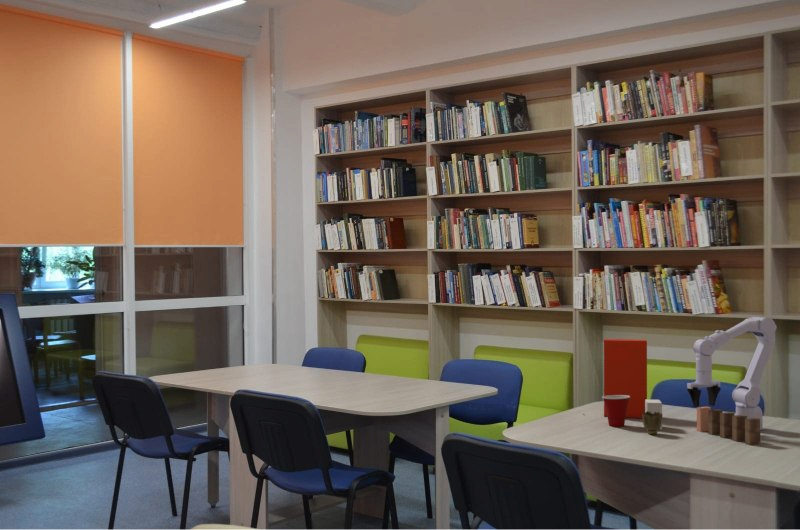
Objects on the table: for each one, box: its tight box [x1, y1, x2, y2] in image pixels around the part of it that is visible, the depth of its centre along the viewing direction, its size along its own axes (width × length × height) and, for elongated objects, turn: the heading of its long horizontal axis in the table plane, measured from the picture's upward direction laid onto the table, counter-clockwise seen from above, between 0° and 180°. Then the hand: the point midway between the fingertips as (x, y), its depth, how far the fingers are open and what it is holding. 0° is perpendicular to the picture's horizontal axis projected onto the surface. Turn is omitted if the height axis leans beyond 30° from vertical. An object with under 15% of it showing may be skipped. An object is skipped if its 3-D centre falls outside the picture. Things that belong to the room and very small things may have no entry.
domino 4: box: [731, 414, 747, 443], centre depth 293 cm, size 5×2×9 cm, turn 112°
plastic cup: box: [601, 395, 630, 428], centre depth 320 cm, size 11×11×12 cm
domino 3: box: [719, 411, 736, 439], centre depth 299 cm, size 5×2×9 cm, turn 112°
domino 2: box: [707, 408, 724, 436], centre depth 304 cm, size 5×2×9 cm, turn 112°
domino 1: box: [696, 406, 712, 433], centre depth 310 cm, size 5×2×9 cm, turn 111°
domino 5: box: [744, 418, 761, 446], centre depth 288 cm, size 5×2×9 cm, turn 112°
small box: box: [645, 398, 663, 431], centre depth 316 cm, size 8×6×10 cm
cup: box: [641, 411, 663, 436], centre depth 304 cm, size 8×7×8 cm
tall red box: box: [603, 338, 648, 419], centre depth 340 cm, size 8×17×32 cm, turn 76°
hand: (704, 406), depth 310 cm, fingers open, 7 cm apart
